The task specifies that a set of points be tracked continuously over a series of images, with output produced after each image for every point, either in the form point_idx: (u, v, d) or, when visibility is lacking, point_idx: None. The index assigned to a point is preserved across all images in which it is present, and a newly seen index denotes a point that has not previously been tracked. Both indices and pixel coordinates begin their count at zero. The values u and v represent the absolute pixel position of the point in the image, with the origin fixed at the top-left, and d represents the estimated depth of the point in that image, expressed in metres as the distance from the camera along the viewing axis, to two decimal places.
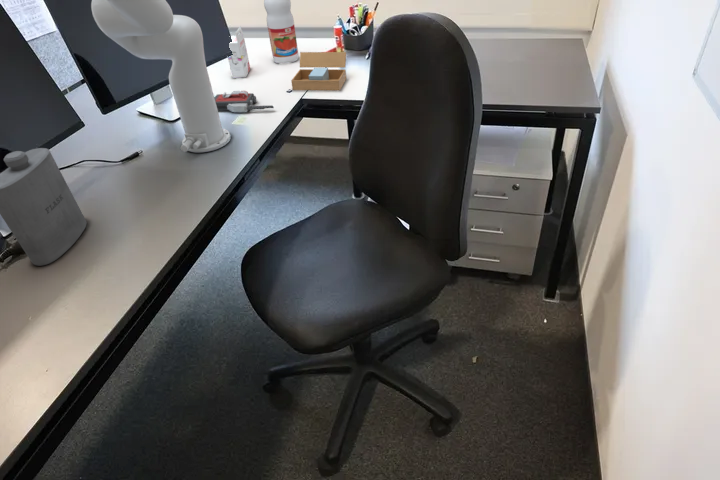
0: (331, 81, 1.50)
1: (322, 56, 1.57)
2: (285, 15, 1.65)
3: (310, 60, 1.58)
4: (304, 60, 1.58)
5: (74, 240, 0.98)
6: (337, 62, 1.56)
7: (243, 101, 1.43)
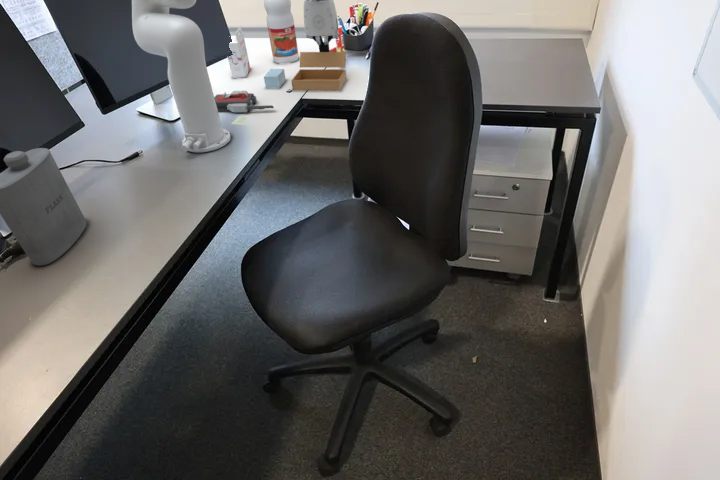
0: (331, 81, 1.50)
1: (322, 56, 1.57)
2: (285, 15, 1.65)
3: (309, 60, 1.58)
4: (304, 60, 1.58)
5: (74, 240, 0.98)
6: (337, 62, 1.56)
7: (243, 101, 1.43)
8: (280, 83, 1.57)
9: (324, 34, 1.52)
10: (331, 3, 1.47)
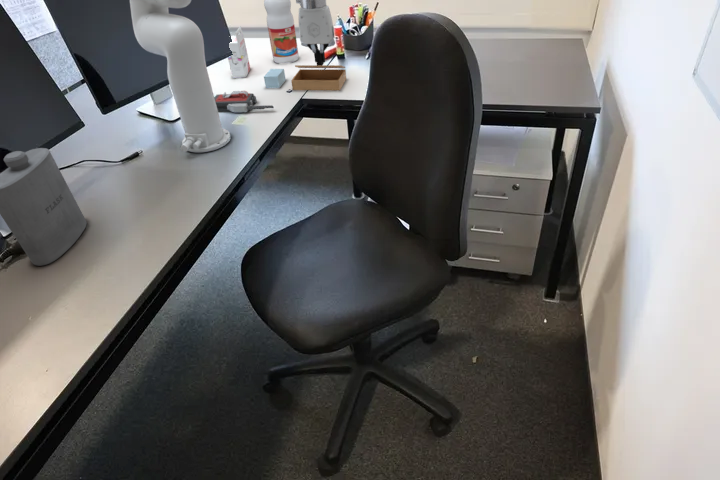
0: (331, 81, 1.50)
1: (319, 67, 1.54)
2: (285, 15, 1.65)
3: (308, 67, 1.56)
4: (302, 67, 1.56)
5: (74, 240, 0.98)
6: (336, 67, 1.55)
7: (243, 101, 1.43)
8: (280, 83, 1.57)
9: (319, 42, 1.48)
10: (327, 10, 1.43)
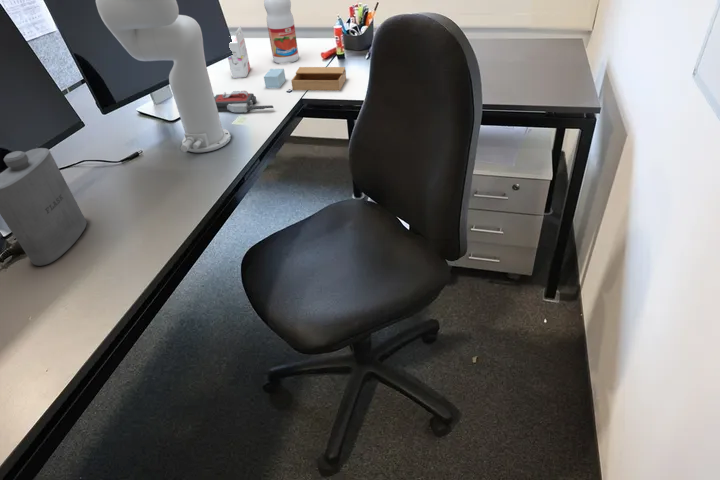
0: (331, 81, 1.50)
1: None
2: (285, 15, 1.65)
3: None
4: None
5: (74, 240, 0.98)
6: None
7: (243, 101, 1.43)
8: (280, 83, 1.57)
9: None
10: None
